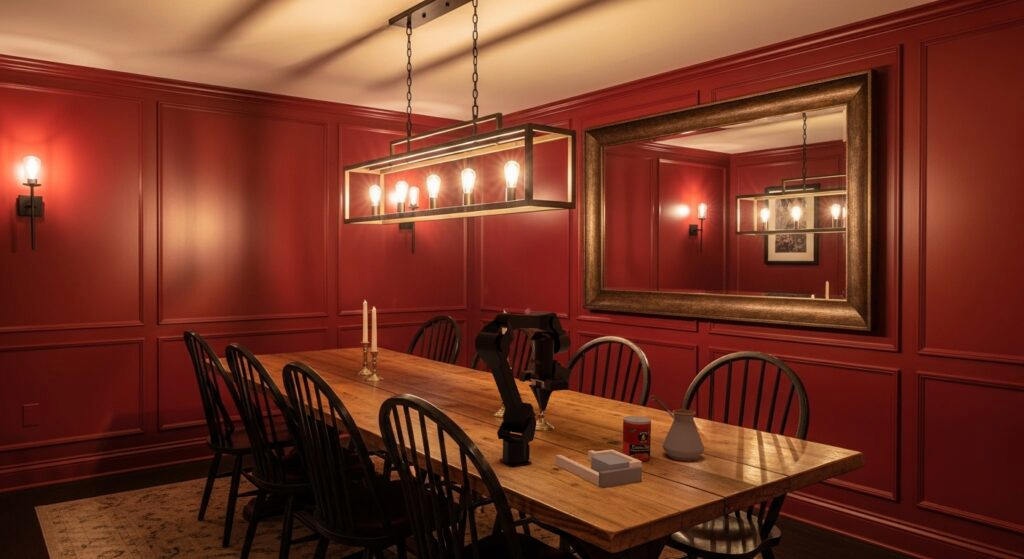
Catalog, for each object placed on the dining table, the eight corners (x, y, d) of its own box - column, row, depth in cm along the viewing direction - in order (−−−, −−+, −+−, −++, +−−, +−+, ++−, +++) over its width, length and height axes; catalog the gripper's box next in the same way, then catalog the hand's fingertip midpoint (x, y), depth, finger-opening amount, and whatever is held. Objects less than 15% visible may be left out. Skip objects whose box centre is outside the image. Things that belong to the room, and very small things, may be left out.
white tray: (602, 487, 172) (602, 473, 172) (555, 464, 191) (555, 451, 191) (659, 478, 181) (659, 464, 181) (608, 456, 200) (609, 444, 200)
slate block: (609, 485, 175) (610, 464, 175) (590, 476, 182) (591, 456, 182) (629, 481, 178) (629, 461, 178) (610, 473, 185) (610, 453, 185)
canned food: (630, 462, 194) (630, 422, 194) (617, 454, 202) (618, 416, 202) (655, 460, 196) (656, 421, 196) (642, 453, 204) (643, 415, 204)
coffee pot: (712, 460, 198) (714, 406, 197) (678, 464, 193) (680, 409, 193) (666, 441, 217) (667, 392, 217) (634, 445, 213) (635, 395, 212)
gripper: (586, 358, 198) (585, 414, 199) (551, 350, 215) (550, 402, 215) (551, 360, 193) (550, 418, 193) (518, 352, 209) (517, 405, 210)
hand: (543, 410), depth 203 cm, fingers closed
